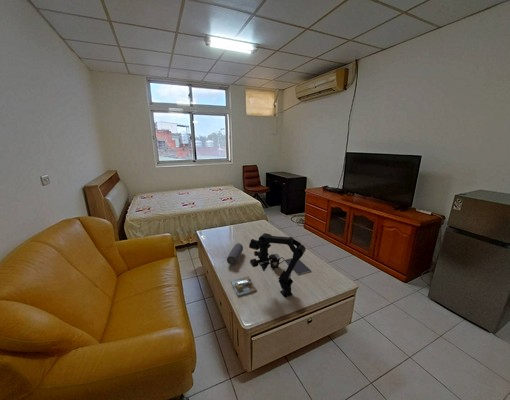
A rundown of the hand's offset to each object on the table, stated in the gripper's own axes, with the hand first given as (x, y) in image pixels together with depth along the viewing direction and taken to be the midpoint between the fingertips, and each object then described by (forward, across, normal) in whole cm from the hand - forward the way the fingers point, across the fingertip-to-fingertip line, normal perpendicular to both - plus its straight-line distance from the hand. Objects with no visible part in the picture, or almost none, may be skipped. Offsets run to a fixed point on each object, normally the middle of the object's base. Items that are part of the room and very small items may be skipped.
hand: (263, 270), depth 153 cm
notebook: (+13, -36, -11) cm, 40 cm away
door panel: (+12, +14, -4) cm, 19 cm away
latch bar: (+11, +13, -4) cm, 17 cm away
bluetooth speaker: (+12, +8, -41) cm, 44 cm away
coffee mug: (+12, -19, -16) cm, 28 cm away
